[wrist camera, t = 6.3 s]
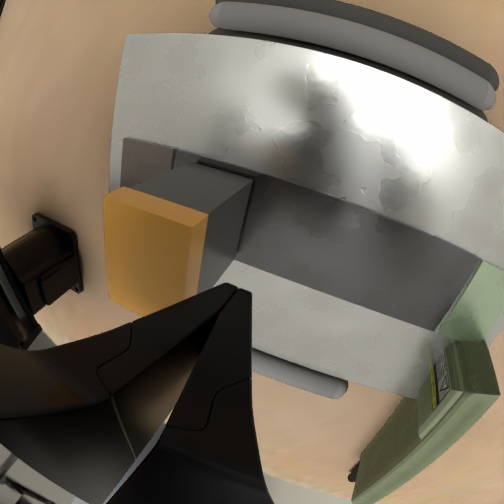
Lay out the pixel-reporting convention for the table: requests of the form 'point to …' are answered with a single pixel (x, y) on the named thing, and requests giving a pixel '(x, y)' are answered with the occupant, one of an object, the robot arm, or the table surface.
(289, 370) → the grey rounded rod
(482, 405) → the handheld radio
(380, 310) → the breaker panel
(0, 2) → the electronic device
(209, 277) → the lever
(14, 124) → the table surface
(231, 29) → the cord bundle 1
